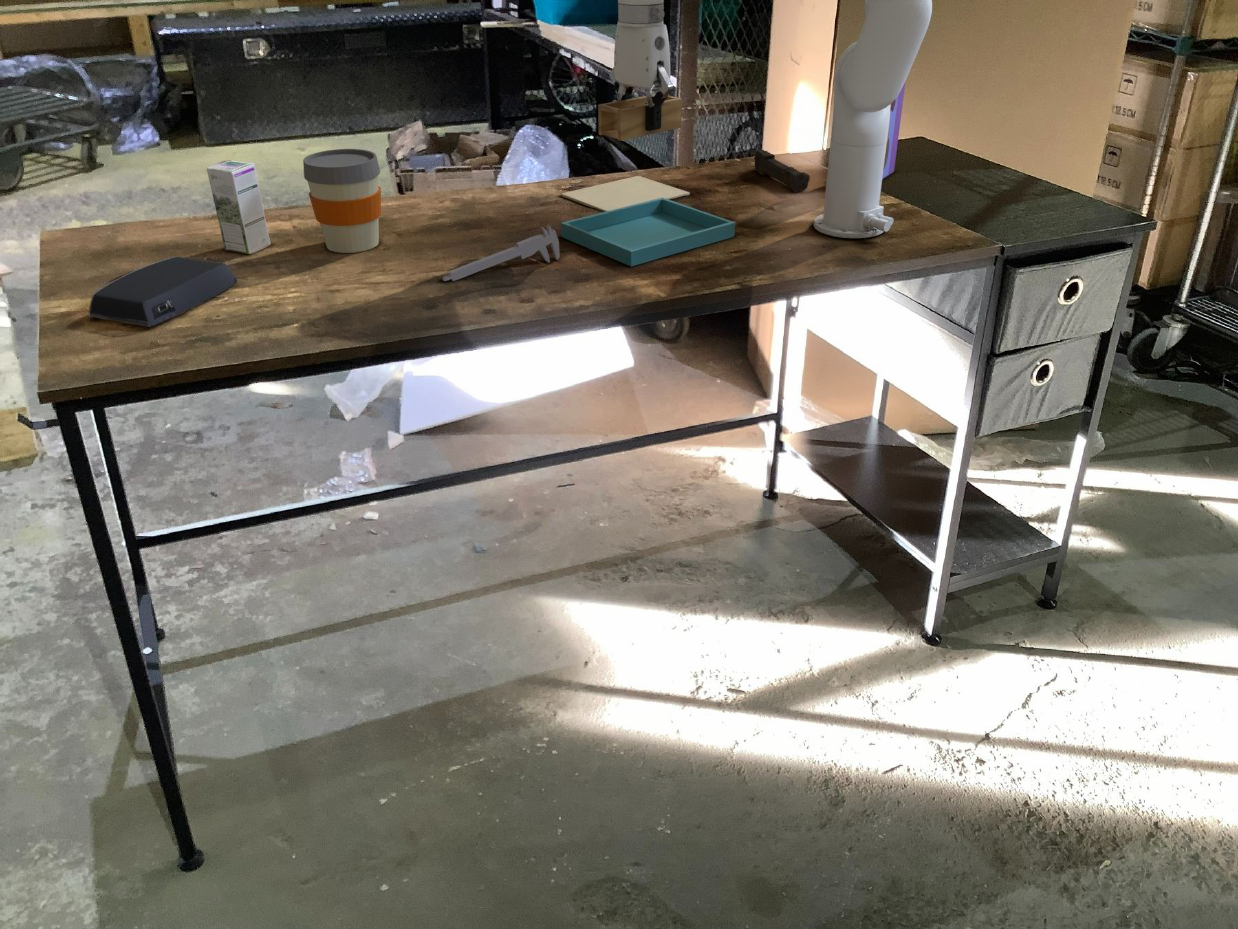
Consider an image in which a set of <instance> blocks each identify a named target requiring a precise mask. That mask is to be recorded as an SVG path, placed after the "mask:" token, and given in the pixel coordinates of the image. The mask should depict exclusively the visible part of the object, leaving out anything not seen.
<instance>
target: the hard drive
mask: <svg viewBox="0 0 1238 929" xmlns="http://www.w3.org/2000/svg"><path fill="white" fill-rule="evenodd" d="M238 281H239V280H238V279H237V277H236V275H235V274H234V273H233V271H232V270H231V268H230V267H229V266H228V265H227V264H226V263H223V262H215V261H208V260H201V259H196V258H195V259H194V258H189V257H183V256H177V255H176V256H175V255H174V256H171V257H167V258H165V259H162V260H159V261H156V262H153V263H149V264H147V265H145V266H142V267H140V268H138V269H135V270H133V271H131V272H128V273H126V274H124V275H122V276H120V277H119V278H117V279H114V280H113V281H111V282H109V283H108V284H106V285H104V286H103V287H101V288H99V289H98V290H97V291H95V292H94V293H93V294H92V296H91V298H90V302H89V308H88V317H90V318H95V319H100V320H106V321H112V322H117V323H124V324H129V325H135V326H140V327H146V328H151V327H154V326H157V325H159V324H162V323H163V322H166V321H168V320H171V319H172V318H176V317H177V316H180V315H181V314H183V313H185V312H187V311H190V310H192V309H193V308H196V307H198V306H199V305H201V304H203V303H205V302H207V301H208V300H210V299H212V298H214V297H215V296H218V295H220V294H221V293H223V292H225V291H226V290H228V289H229V288H231V287H232V286H235V285H236V284H237V283H238Z"/></svg>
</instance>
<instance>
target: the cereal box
mask: <svg viewBox="0 0 1238 929" xmlns="http://www.w3.org/2000/svg"><path fill="white" fill-rule="evenodd" d="M906 81H907V80H906ZM906 81H905V83H904V85H903V87H902V89H901V91H900V93H899V95H898V96H897V98H896V99H895V100H894V101H893V102H892V103H891V108H890V120H889V130H888V138H887V144H886V152H885V160H884V168H883V176H882V181H883V180H884V179H886V178H888V177H889V176H891V175H892V174H893V173H895V167H896V158H897V151H898V143H899V136H900V127H901V121H902V120H901V119H902V111H903V104H904V96H905V90H906V83H907V82H906Z"/></svg>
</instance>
